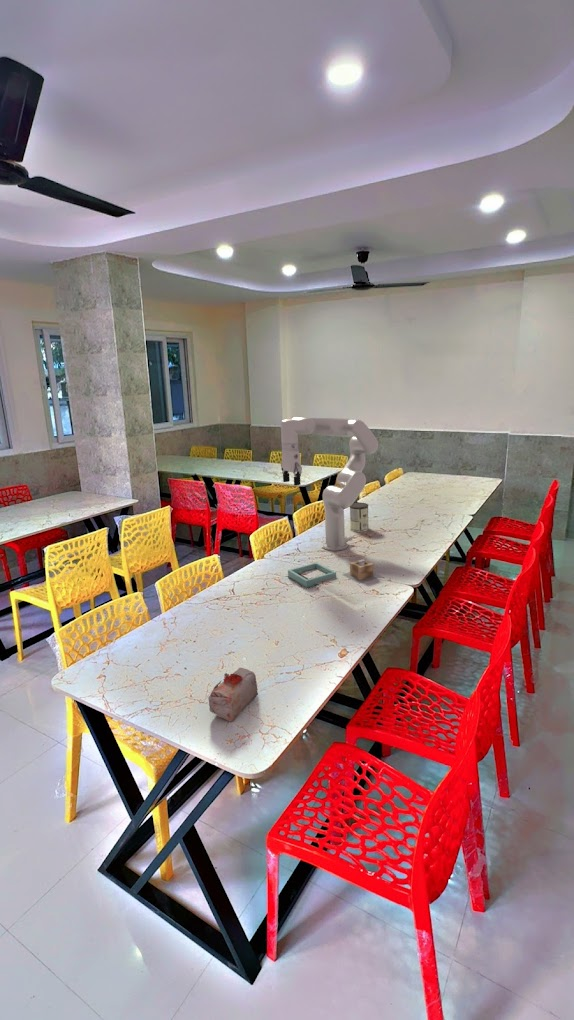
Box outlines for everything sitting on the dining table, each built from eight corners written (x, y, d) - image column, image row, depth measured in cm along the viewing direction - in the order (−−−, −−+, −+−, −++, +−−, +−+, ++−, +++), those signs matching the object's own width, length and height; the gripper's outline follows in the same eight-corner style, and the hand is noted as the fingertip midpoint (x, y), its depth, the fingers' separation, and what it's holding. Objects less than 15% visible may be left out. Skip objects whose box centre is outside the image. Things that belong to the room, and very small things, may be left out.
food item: (232, 726, 130) (229, 693, 127) (207, 717, 134) (204, 685, 131) (261, 697, 141) (258, 665, 139) (237, 689, 145) (234, 658, 143)
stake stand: (363, 571, 225) (363, 553, 223) (381, 579, 215) (381, 561, 213) (342, 577, 219) (341, 559, 217) (359, 586, 209) (359, 568, 207)
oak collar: (363, 571, 221) (362, 559, 220) (373, 576, 215) (373, 563, 214) (350, 574, 218) (350, 562, 216) (360, 580, 212) (360, 567, 211)
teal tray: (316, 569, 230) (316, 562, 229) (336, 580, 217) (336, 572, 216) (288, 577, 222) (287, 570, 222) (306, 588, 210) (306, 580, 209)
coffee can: (354, 525, 291) (354, 501, 288) (371, 527, 286) (371, 503, 282) (346, 530, 283) (346, 506, 279) (363, 532, 278) (363, 508, 274)
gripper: (307, 447, 227) (308, 485, 231) (287, 444, 241) (289, 479, 246) (292, 449, 223) (294, 487, 228) (273, 446, 238) (275, 481, 242)
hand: (291, 483), depth 237 cm, fingers open, 9 cm apart
